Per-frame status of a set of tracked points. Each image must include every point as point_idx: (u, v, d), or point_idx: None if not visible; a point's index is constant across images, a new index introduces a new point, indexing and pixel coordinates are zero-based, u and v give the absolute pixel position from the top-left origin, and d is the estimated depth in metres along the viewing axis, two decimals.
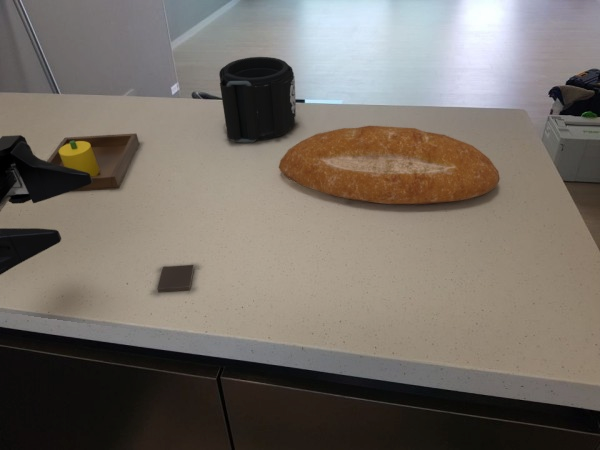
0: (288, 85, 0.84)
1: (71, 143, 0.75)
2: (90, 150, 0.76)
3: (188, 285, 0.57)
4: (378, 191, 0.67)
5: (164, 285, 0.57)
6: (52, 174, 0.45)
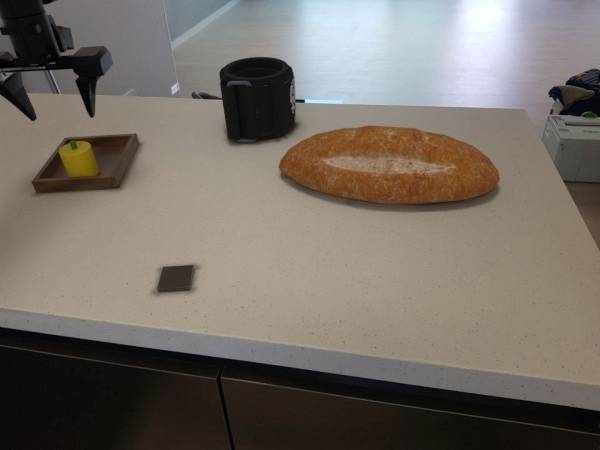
0: (288, 85, 0.84)
1: (71, 143, 0.75)
2: (90, 150, 0.76)
3: (188, 285, 0.57)
4: (378, 191, 0.67)
5: (164, 285, 0.57)
6: (26, 96, 0.70)
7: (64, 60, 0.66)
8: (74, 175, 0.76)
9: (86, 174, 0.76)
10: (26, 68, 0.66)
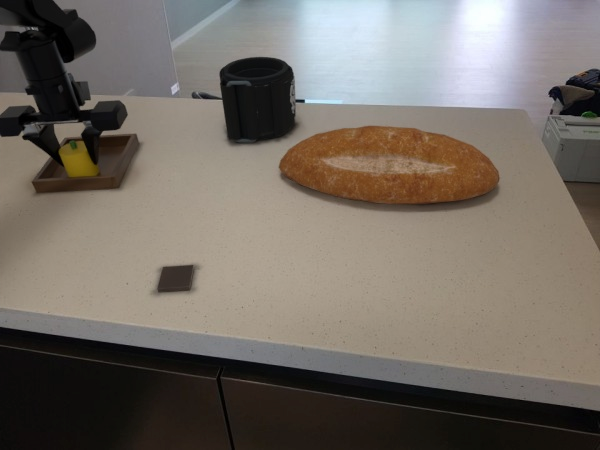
0: (288, 85, 0.84)
1: (71, 143, 0.75)
2: None
3: (188, 285, 0.57)
4: (378, 190, 0.67)
5: (164, 285, 0.57)
6: (58, 145, 0.76)
7: (83, 114, 0.72)
8: (74, 175, 0.76)
9: (86, 174, 0.76)
10: (60, 122, 0.71)
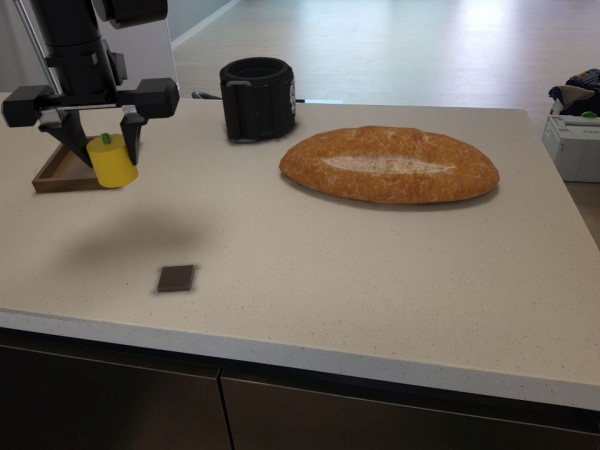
0: (288, 85, 0.84)
1: (103, 136, 0.55)
2: None
3: (188, 285, 0.57)
4: (378, 190, 0.67)
5: (164, 285, 0.57)
6: (85, 139, 0.56)
7: (122, 96, 0.52)
8: (107, 179, 0.57)
9: (123, 178, 0.57)
10: (92, 106, 0.51)
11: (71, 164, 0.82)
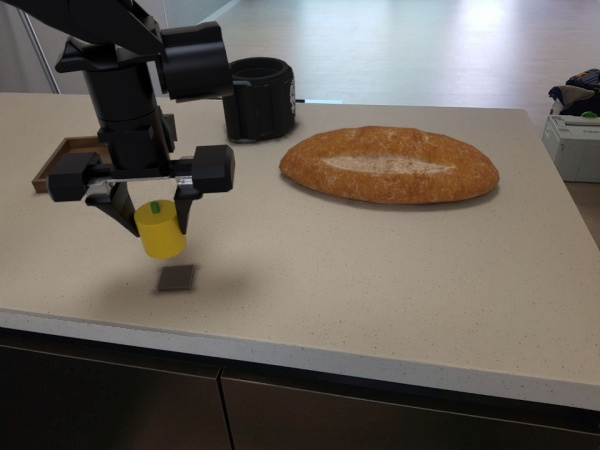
0: (288, 85, 0.84)
1: (153, 206, 0.51)
2: None
3: (188, 285, 0.57)
4: (378, 191, 0.67)
5: (164, 285, 0.57)
6: (132, 207, 0.52)
7: (176, 167, 0.48)
8: (155, 251, 0.52)
9: (172, 249, 0.53)
10: (144, 179, 0.47)
11: None
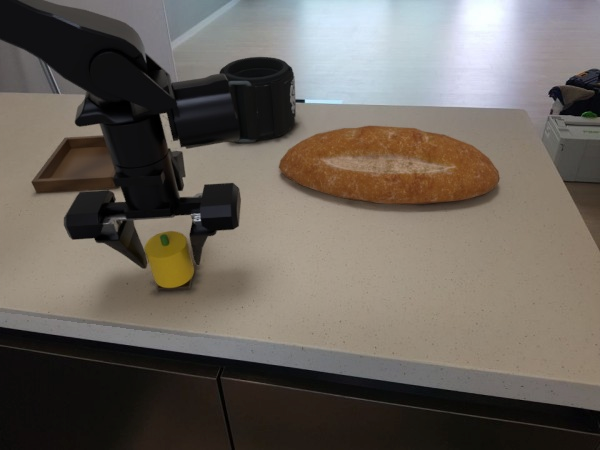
0: (288, 85, 0.84)
1: (163, 239, 0.54)
2: (187, 246, 0.55)
3: (188, 285, 0.57)
4: (378, 191, 0.67)
5: None
6: (138, 241, 0.55)
7: (186, 205, 0.51)
8: (164, 281, 0.55)
9: (181, 279, 0.56)
10: (149, 218, 0.50)
11: (71, 164, 0.82)
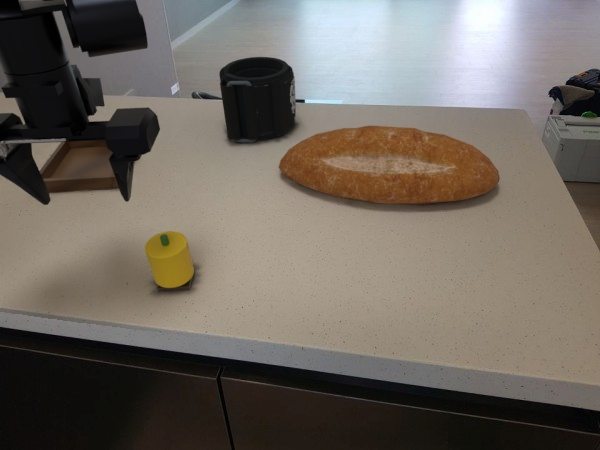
0: (288, 85, 0.84)
1: (163, 239, 0.54)
2: (187, 246, 0.55)
3: (188, 285, 0.57)
4: (378, 191, 0.67)
5: None
6: (37, 173, 0.51)
7: (93, 129, 0.46)
8: (164, 281, 0.55)
9: (181, 279, 0.56)
10: (39, 140, 0.46)
11: (71, 164, 0.82)
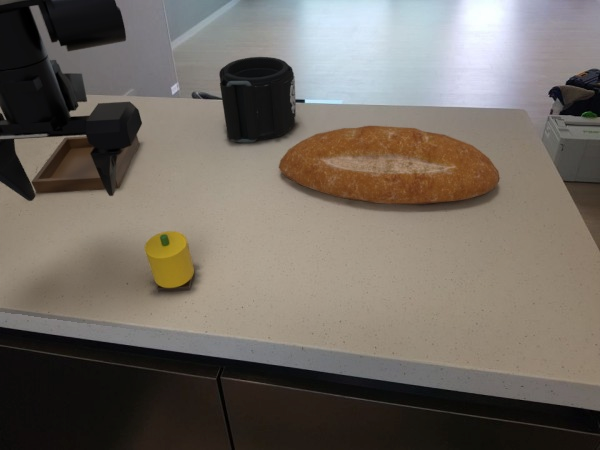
0: (288, 85, 0.84)
1: (163, 239, 0.54)
2: (187, 246, 0.55)
3: (188, 285, 0.57)
4: (378, 191, 0.67)
5: None
6: (21, 169, 0.51)
7: (74, 124, 0.47)
8: (164, 281, 0.55)
9: (181, 279, 0.56)
10: (20, 136, 0.46)
11: (71, 164, 0.82)
